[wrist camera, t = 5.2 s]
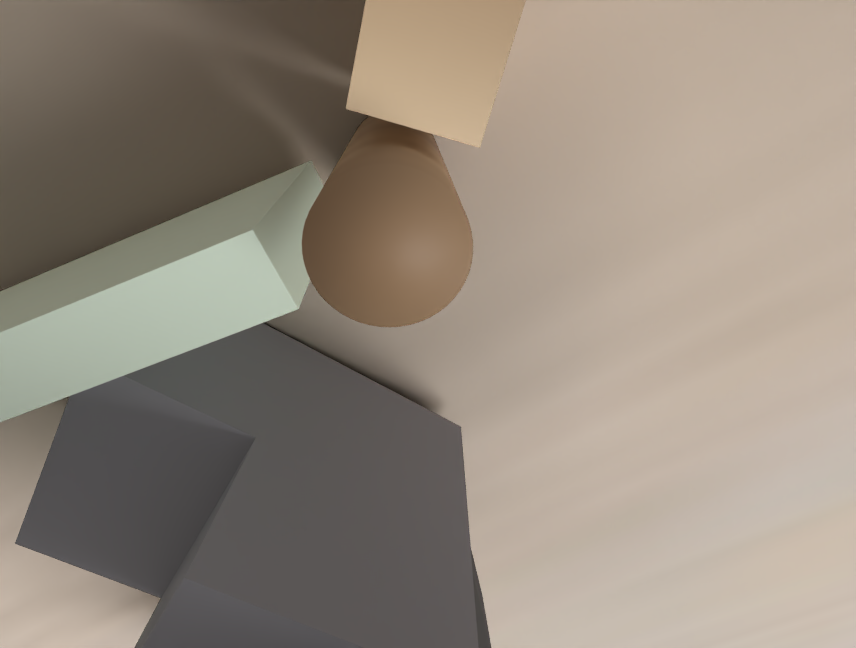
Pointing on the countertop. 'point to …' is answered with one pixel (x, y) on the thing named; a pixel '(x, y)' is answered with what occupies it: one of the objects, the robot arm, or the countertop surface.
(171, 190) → the countertop surface
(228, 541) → the grey faceted block
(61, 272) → the pale green bar
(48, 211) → the countertop surface
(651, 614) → the countertop surface
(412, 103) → the tan small pieces
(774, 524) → the countertop surface
